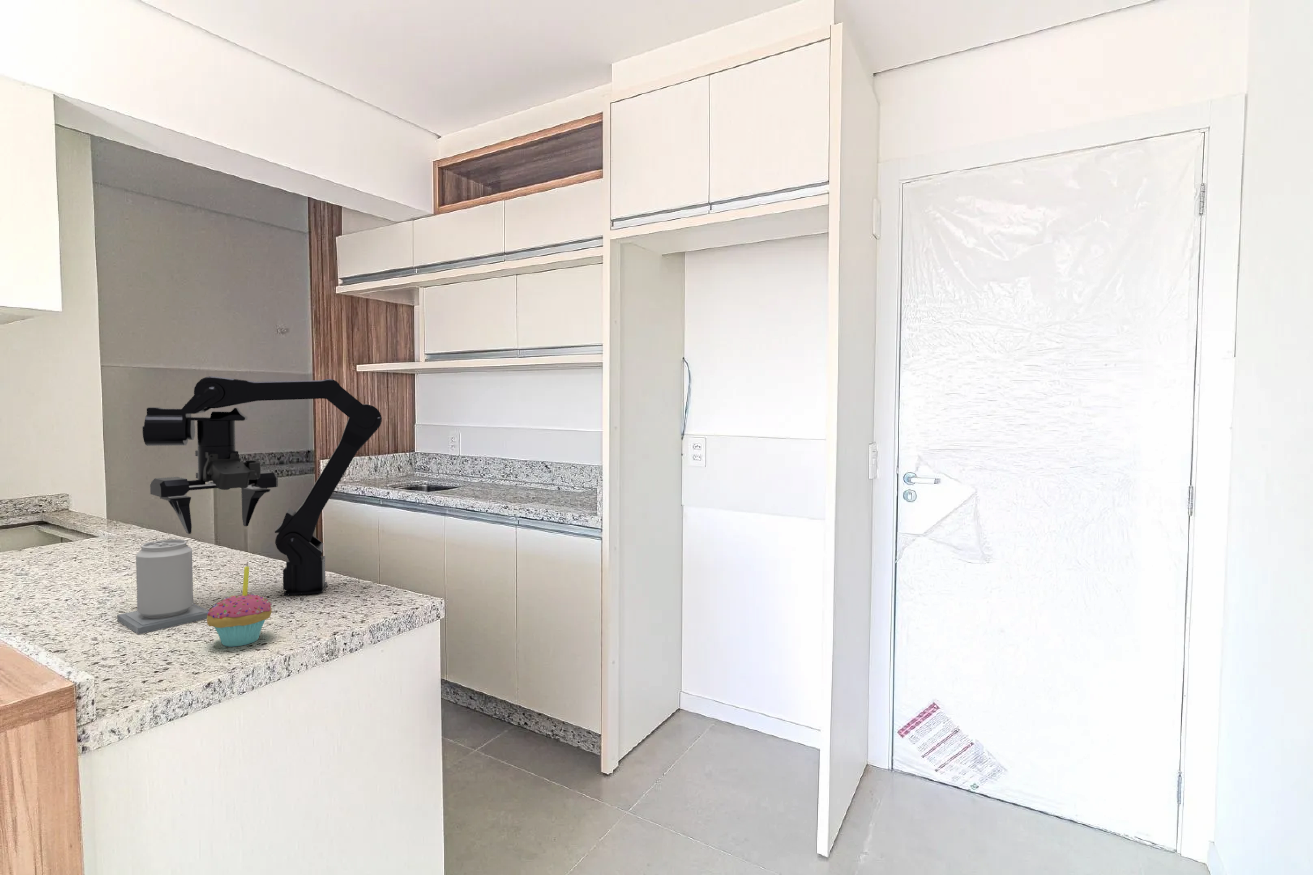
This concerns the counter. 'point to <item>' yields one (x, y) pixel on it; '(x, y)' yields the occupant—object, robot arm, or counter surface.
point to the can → (164, 578)
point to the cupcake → (239, 616)
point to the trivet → (160, 620)
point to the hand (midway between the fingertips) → (218, 529)
